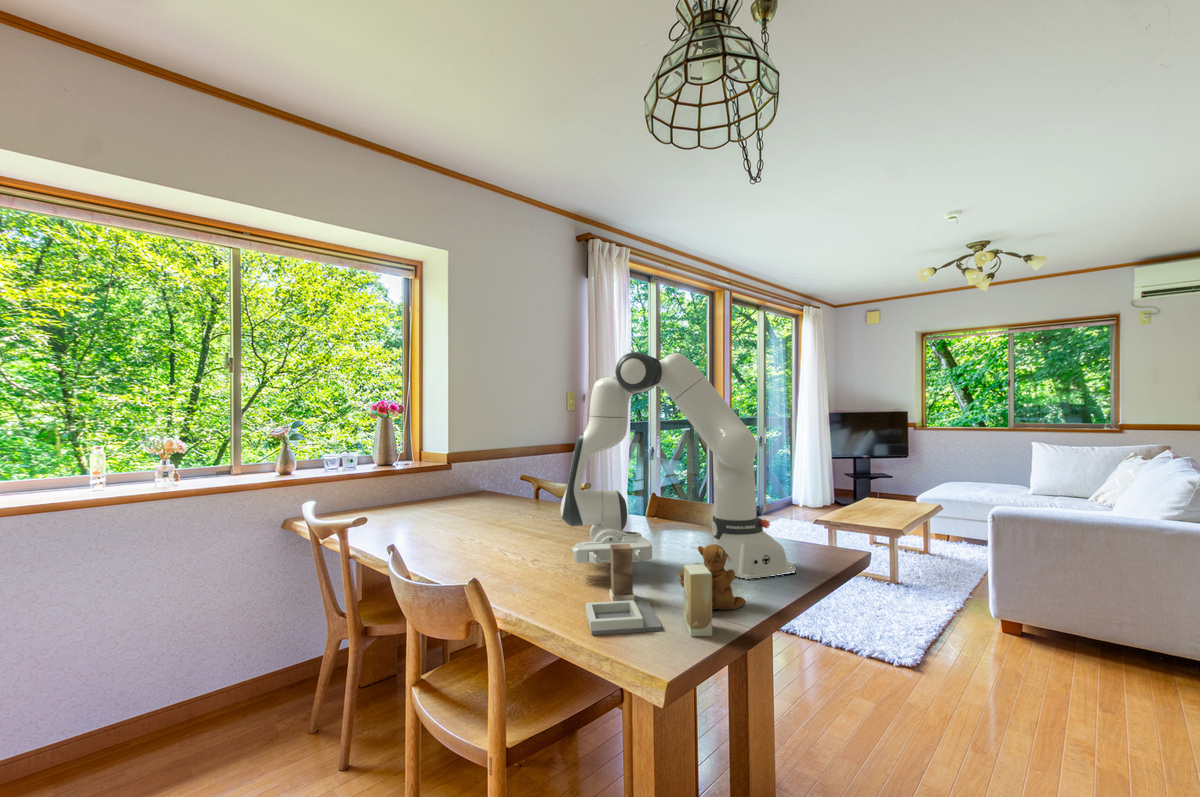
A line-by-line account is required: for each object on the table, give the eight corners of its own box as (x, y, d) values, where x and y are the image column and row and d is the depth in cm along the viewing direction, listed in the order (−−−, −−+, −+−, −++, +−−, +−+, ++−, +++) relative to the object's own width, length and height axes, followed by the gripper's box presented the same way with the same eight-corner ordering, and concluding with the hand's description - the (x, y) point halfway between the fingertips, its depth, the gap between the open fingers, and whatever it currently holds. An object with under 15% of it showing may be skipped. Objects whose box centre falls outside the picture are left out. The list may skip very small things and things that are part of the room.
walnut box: (630, 594, 128) (629, 543, 128) (634, 601, 123) (633, 548, 123) (609, 595, 128) (608, 544, 128) (612, 603, 123) (611, 549, 123)
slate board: (647, 604, 121) (647, 593, 121) (662, 630, 107) (661, 617, 107) (584, 608, 119) (584, 596, 119) (590, 635, 105) (590, 621, 105)
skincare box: (683, 624, 110) (682, 563, 110) (704, 623, 110) (703, 563, 110) (690, 637, 104) (689, 573, 104) (713, 636, 104) (712, 572, 104)
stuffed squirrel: (748, 605, 120) (747, 545, 120) (707, 621, 111) (706, 557, 112) (713, 593, 128) (712, 537, 128) (671, 608, 119) (670, 548, 119)
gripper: (570, 535, 145) (574, 548, 131) (645, 532, 147) (657, 545, 134) (571, 559, 145) (574, 575, 131) (646, 555, 147) (657, 570, 133)
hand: (616, 559), depth 132 cm, fingers open, 8 cm apart
